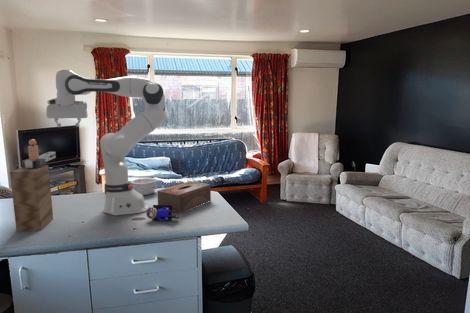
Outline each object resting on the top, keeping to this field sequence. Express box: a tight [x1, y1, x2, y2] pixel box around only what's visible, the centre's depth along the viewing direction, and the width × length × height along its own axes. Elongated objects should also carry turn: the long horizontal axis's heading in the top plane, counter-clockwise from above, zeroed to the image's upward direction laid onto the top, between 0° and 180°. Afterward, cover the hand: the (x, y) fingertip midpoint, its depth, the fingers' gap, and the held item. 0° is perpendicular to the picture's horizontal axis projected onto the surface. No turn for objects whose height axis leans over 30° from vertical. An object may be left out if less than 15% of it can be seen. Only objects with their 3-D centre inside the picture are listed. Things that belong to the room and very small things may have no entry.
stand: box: [9, 158, 54, 232], centre depth 153 cm, size 10×14×29 cm
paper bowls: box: [130, 177, 158, 196], centre depth 207 cm, size 15×15×8 cm
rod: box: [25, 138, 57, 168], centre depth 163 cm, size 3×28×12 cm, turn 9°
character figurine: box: [146, 204, 180, 223], centre depth 161 cm, size 8×7×15 cm
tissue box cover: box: [157, 180, 212, 215], centre depth 184 cm, size 26×14×10 cm, turn 146°
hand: (68, 126), depth 187 cm, fingers open, 8 cm apart
